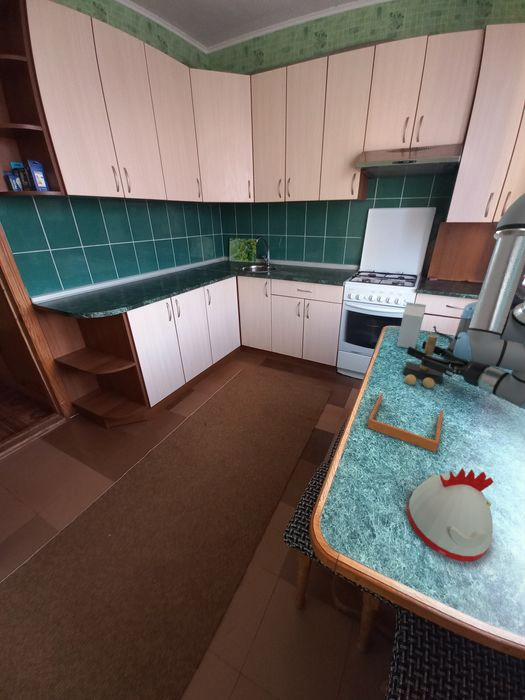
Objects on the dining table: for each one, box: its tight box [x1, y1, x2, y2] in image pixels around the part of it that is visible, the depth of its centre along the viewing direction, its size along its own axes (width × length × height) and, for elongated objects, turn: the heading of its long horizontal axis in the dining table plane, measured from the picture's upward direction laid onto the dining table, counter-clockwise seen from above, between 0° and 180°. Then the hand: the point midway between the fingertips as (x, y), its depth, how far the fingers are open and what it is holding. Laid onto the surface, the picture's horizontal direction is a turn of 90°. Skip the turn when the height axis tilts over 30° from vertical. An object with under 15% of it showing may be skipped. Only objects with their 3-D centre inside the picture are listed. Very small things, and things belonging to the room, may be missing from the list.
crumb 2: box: [422, 378, 436, 389], centre depth 98 cm, size 4×4×4 cm
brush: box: [402, 333, 444, 385], centre depth 102 cm, size 5×12×16 cm, turn 57°
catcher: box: [366, 392, 444, 453], centre depth 83 cm, size 15×17×3 cm
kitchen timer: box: [406, 467, 494, 562], centre depth 54 cm, size 14×14×15 cm
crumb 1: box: [404, 375, 417, 386], centre depth 100 cm, size 4×4×4 cm
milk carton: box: [396, 301, 427, 349], centre depth 123 cm, size 7×7×19 cm
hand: (415, 347), depth 105 cm, fingers open, 8 cm apart
